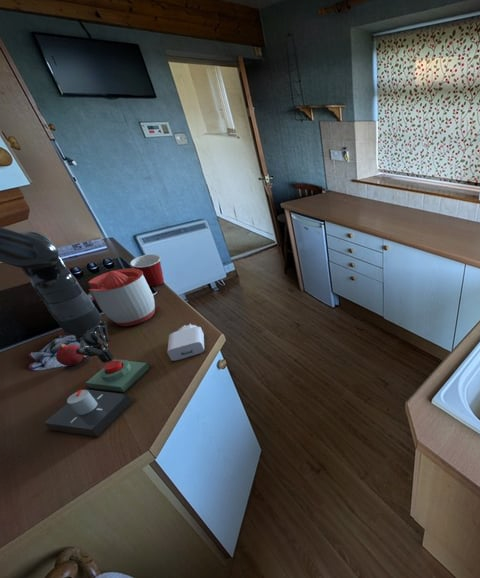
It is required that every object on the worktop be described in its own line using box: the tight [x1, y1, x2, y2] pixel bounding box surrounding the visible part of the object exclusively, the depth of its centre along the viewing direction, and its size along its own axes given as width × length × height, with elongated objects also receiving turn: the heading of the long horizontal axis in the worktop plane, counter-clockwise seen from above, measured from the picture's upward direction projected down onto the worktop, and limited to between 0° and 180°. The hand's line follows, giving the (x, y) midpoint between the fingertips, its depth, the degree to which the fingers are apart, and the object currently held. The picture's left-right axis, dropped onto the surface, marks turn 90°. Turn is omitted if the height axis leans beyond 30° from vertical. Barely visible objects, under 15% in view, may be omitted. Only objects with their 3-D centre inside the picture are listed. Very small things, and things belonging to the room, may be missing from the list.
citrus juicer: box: [87, 267, 156, 327], centre depth 105 cm, size 16×17×20 cm
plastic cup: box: [129, 253, 165, 287], centre depth 128 cm, size 11×11×12 cm
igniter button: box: [103, 359, 123, 374], centre depth 84 cm, size 4×4×2 cm
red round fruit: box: [55, 343, 85, 366], centre depth 88 cm, size 6×6×8 cm
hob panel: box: [43, 389, 133, 438], centre depth 75 cm, size 13×10×3 cm
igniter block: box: [85, 358, 150, 393], centre depth 85 cm, size 11×9×4 cm
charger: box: [166, 323, 205, 361], centre depth 98 cm, size 5×9×15 cm
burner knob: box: [66, 388, 98, 415], centre depth 73 cm, size 4×4×5 cm
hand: (108, 360), depth 82 cm, fingers closed
